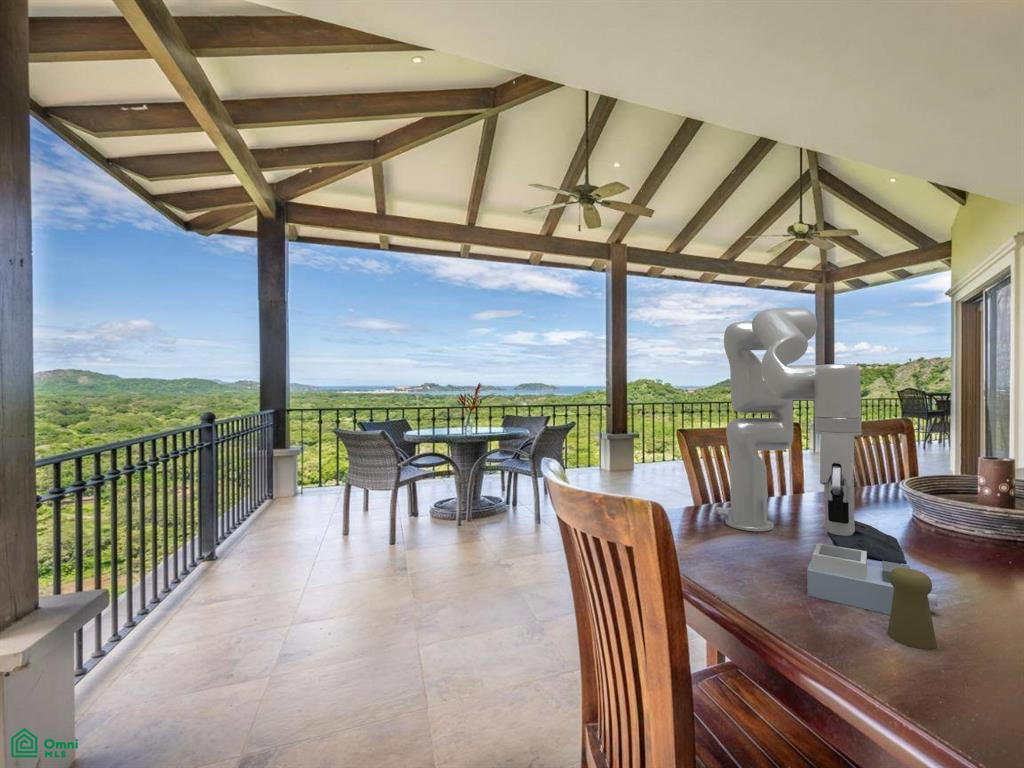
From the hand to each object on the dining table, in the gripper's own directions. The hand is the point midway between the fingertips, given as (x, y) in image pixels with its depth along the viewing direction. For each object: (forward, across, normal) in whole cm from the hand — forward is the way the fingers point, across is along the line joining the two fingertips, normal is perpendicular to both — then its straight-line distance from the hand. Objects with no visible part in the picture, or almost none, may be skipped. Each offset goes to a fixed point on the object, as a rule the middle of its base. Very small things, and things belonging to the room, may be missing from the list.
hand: (839, 517), depth 91 cm
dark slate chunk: (+15, -36, +3) cm, 40 cm away
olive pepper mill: (+15, +13, +10) cm, 22 cm away
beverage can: (+3, 0, 0) cm, 3 cm away
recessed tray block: (+15, 0, +4) cm, 16 cm away
